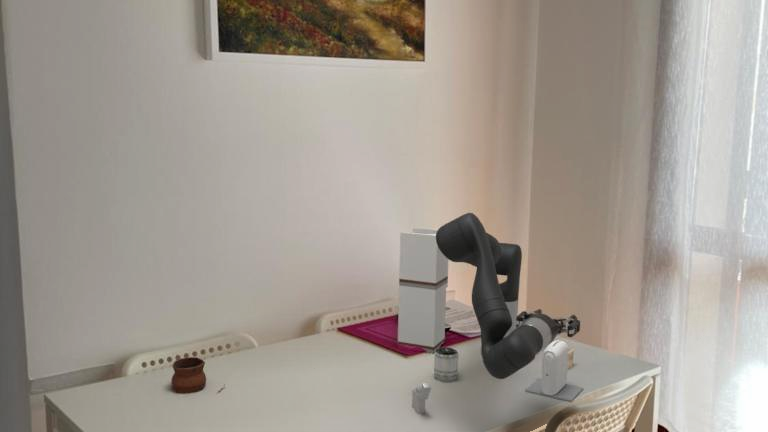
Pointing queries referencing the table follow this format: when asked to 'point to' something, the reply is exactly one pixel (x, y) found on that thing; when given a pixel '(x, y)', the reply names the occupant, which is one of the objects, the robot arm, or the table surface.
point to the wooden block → (570, 358)
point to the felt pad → (564, 394)
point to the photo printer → (554, 367)
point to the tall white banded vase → (422, 290)
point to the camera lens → (446, 364)
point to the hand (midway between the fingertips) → (556, 315)
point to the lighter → (420, 397)
